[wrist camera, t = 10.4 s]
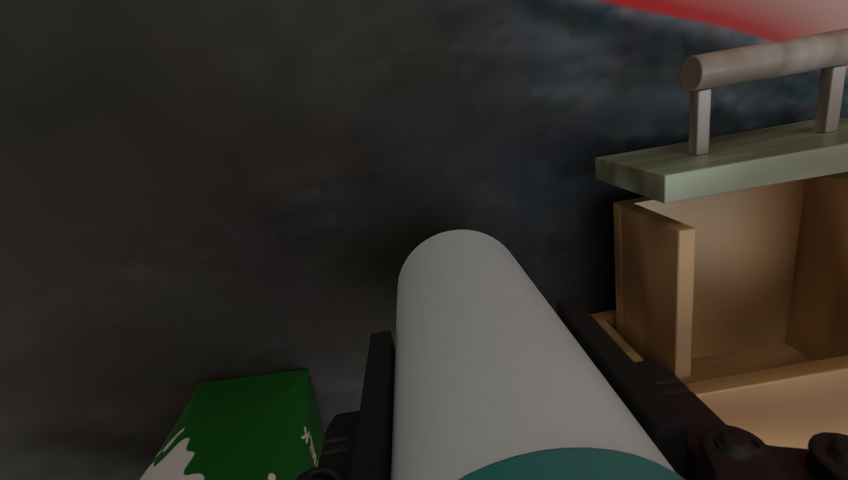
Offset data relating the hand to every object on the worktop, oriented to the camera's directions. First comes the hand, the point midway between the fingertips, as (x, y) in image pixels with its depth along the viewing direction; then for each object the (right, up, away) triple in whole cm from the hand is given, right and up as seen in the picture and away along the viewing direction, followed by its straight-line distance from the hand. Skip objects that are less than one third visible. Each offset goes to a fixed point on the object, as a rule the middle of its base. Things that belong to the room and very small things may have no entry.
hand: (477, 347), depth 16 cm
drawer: (+14, +5, +8) cm, 17 cm away
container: (0, +2, +5) cm, 6 cm away
